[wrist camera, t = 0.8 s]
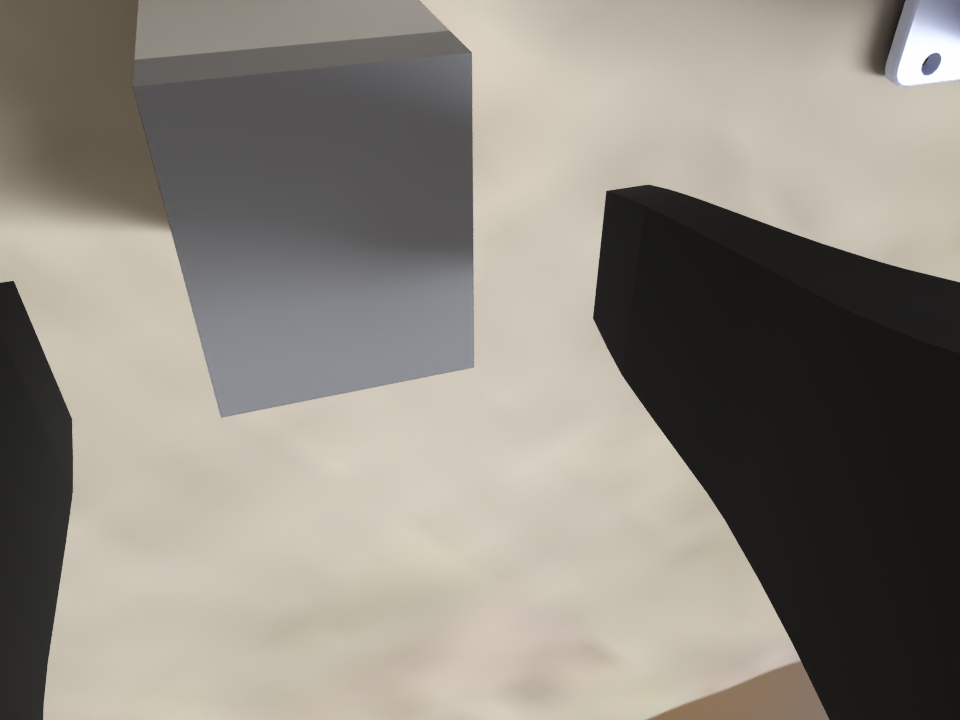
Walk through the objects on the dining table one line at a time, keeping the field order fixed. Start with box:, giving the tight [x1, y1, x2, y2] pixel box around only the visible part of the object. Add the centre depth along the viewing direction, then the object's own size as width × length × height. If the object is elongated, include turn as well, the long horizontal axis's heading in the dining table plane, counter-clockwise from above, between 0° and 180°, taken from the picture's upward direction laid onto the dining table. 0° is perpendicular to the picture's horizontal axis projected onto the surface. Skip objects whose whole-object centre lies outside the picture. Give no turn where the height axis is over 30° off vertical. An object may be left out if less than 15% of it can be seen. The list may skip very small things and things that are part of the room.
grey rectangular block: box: [133, 0, 474, 418], centre depth 13 cm, size 4×5×6 cm
